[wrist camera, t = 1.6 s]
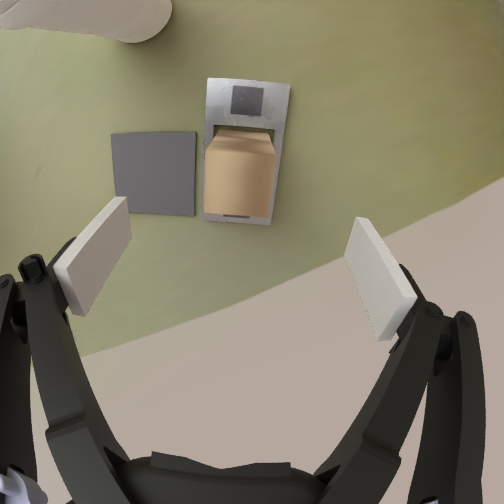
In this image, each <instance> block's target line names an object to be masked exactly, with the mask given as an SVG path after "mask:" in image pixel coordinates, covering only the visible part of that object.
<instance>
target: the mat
mask: <svg viewBox="0 0 504 504" xmlns="http://www.w3.org/2000/svg"><path fill="white" fill-rule="evenodd" d="M111 145H112V160H113V172H114V182H115V191H116V197H127V204H128V213H147V214H165V215H182V216H194V215H195V158H196V132H134V133H116V134H111Z"/></svg>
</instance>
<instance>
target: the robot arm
mask: <svg viewBox="0 0 504 504" xmlns="http://www.w3.org/2000/svg"><path fill="white" fill-rule="evenodd" d="M131 239H132V234H131V228H130V220H129V213H128V204H127V197H114V198H113V199H112V200H111V201H110V202H109V203H108V204H107V205H106V206H105V207H104V208H103V209H102V210H101V212H100V213H99V214H98V215H97V216H96V217H95V218H94V219H93V220H92V221H91V222H90V223H89V224H88V225H87V227H86V228H85V229H84V230H83V231H82V232H81V233H80V234H79V236H78V237H74V238H72V239H71V240H69V241H68V242H67V243H66V244H65V245H64V246H63V247H62V250H60V251H59V252H58V254H57V255H56V256H55V257H54V258H53V259H52V260H51V262H50V263H49V264H48V265H47V267H46V265H45V263H44V260H43V257H42V255H40V254H33V255H29V256H28V257H26V258H24V259H23V260H22V261H21V262H20V264H19V266H18V270H19V272H20V274H21V277H22V279H23V282H15V279H14V277H13V275H11V274H5V275H2V276H1V277H0V504H47V502H48V498H47V495H46V494H45V492H44V491H42V490H41V488H40V487H39V485H38V484H37V466H36V458H35V451H34V444H33V435H32V424H31V410H30V409H31V408H30V365H31V355H32V361H33V366H34V371H35V375H36V381H37V385H38V389H39V393H40V396H41V401H42V404H43V407H44V411H45V414H46V417H47V421H48V424H49V428H48V429H47V430H46V431H45V436H46V439H47V443H48V445H49V448H50V451H51V453H52V456H53V458H54V461H55V463H56V466H57V468H58V470H59V472H60V475H61V477H62V479H63V481H64V483H65V485H66V487H67V489H68V491H69V493H70V495H71V497H72V500H71V501H69V502H68V503H66V504H379V502H380V500H381V499H382V497H383V495H384V494H385V492H386V491H387V489H388V487H389V485H390V484H391V482H392V480H393V478H394V476H395V474H396V473H397V470H398V469H399V467H400V464H401V458H400V456H399V451H400V449H401V447H402V445H403V442H404V440H405V438H406V436H407V434H408V432H409V429H410V427H411V425H412V422H413V420H414V417H415V415H416V412H417V409H418V407H419V404H420V402H421V399H422V396H423V394H424V391H425V388H426V385H427V397H426V407H425V415H424V423H423V430H422V436H421V442H420V447H419V453H418V457H417V462H416V466H415V471H414V475H413V479H412V482H411V486H410V491H409V495H408V501H407V504H483V501H482V487H481V486H482V485H481V477H482V470H483V460H484V450H485V429H486V427H485V426H486V424H485V423H486V416H485V415H486V411H485V410H486V409H485V389H484V388H485V387H484V375H483V366H482V358H481V351H480V345H479V338H478V333H477V328H476V323H475V321H474V319H473V318H472V316H471V315H469V314H468V313H466V312H464V311H458V312H457V313H456V315H455V316H454V318H451V317H448V316H444V315H443V312H442V310H441V309H440V308H439V307H438V306H437V305H436V304H434V303H432V302H429V301H426V299H425V297H424V296H423V294H422V293H421V291H420V289H419V287H418V286H417V284H416V282H415V281H414V279H412V276H411V274H410V273H409V271H408V270H407V269H406V268H405V267H404V266H403V265H402V264H398V263H397V262H396V260H395V259H394V257H393V255H392V254H391V252H390V251H389V249H388V248H387V246H386V245H385V243H384V242H383V240H382V239H381V237H380V236H379V234H378V233H377V231H376V230H375V228H374V227H373V225H372V224H371V223H370V221H369V220H368V218H362V217H356V218H355V222H354V225H353V228H352V231H351V235H350V238H349V241H348V244H347V247H346V250H345V253H344V258H345V260H346V262H347V265H348V267H349V270H350V272H351V274H352V276H353V279H354V281H355V284H356V286H357V289H358V291H359V294H360V296H361V299H362V302H363V304H364V307H365V309H366V312H367V314H368V317H369V320H370V322H371V325H372V328H373V331H374V333H375V336H376V339H377V341H384V340H385V341H386V340H391V339H392V337H393V336H394V334H395V333H396V332H397V334H398V336H399V339H398V340H397V342H396V343H395V344H394V346H393V347H392V349H391V350H390V352H389V353H390V356H389V358H388V360H387V362H386V364H385V367H384V368H383V371H382V372H381V374H380V376H379V378H378V380H377V382H376V384H375V386H374V388H373V389H372V391H371V393H370V395H369V397H368V399H367V400H366V402H365V404H364V405H363V407H362V409H361V410H360V412H359V414H358V415H357V417H356V419H355V420H354V422H353V423H352V425H351V426H350V428H349V429H348V431H347V433H346V434H345V435H344V437H343V438H342V440H341V441H340V443H339V444H338V446H337V447H336V448H335V450H334V451H333V453H332V454H331V455H330V457H329V458H328V459H327V460H326V461H325V462H324V463H323V464H322V465H321V466H320V467H319V468H318V469H317V470H316V471H315V473H314V474H313V475H311V474H309V473H307V472H305V471H302V470H299V469H296V468H291V467H290V462H284V463H254V464H249V465H243V466H238V467H233V468H226V469H218V468H214V467H211V466H208V465H205V464H202V463H200V462H197V461H194V460H191V459H188V458H186V457H181V456H175V455H169V454H164V453H158V452H153V451H152V455H151V457H141V458H137V459H133V460H130V459H129V457H128V456H127V454H126V453H125V451H124V450H123V448H122V447H121V446H120V445H119V443H118V442H117V441H116V439H115V437H114V435H113V433H112V431H111V430H110V428H109V426H108V424H107V422H106V420H105V418H104V416H103V413H102V411H101V409H100V407H99V405H98V403H97V400H96V398H95V396H94V393H93V391H92V388H91V386H90V383H89V381H88V378H87V376H86V373H85V371H84V368H83V365H82V362H81V359H80V356H79V353H78V350H77V347H76V344H75V341H74V338H73V334H72V331H71V328H70V324H69V320H68V316H67V314H66V312H65V310H66V308H67V307H68V305H69V307H70V310H71V312H72V314H74V315H79V316H83V317H86V315H87V313H88V311H89V309H90V308H91V306H92V304H93V302H94V300H95V298H96V297H97V295H98V293H99V291H100V289H101V288H102V286H103V284H104V282H105V281H106V279H107V277H108V276H109V274H110V272H111V270H112V269H113V267H114V266H115V264H116V262H117V261H118V259H119V257H120V256H121V254H122V253H123V251H124V249H125V248H126V246H127V245H128V243H129V242H130V240H131ZM427 382H428V384H427Z"/></svg>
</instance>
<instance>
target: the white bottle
mask: <svg viewBox="0 0 504 504" xmlns="http://www.w3.org/2000/svg"><path fill="white" fill-rule="evenodd" d="M171 13H172V2H171V0H0V28H3V29H8V30H16V29H22V28H26V27H32V28H38V29H44V30H53V31H62V32H71V33H82V34H94V35H96V36H99V37H103V38H110V39H115V40H118V41H121V42H126V43H137V42H142V41H145V40H147V39H149V38H151V37H153V36H155V35H156V34H157V33H159V32H160V31H161V30H162V29H163V28H164V27H165V25H166V24H167V22H168V21H169V19H170V16H171Z"/></svg>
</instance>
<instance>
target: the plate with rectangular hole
mask: <svg viewBox="0 0 504 504" xmlns="http://www.w3.org/2000/svg"><path fill="white" fill-rule="evenodd" d="M289 92H290V85H288V84H281V83H273V82H264V81H254V80H242V79H226V78H208V82H207V94H206V108H205V124H204V144H203V169H202V214H201V220H208V221H221V222H234V223H247V224H259V225H270V226H271V219H272V213H273V206H274V199H275V192H276V186H277V179H278V172H279V165H280V158H281V151H282V144H283V137H284V129H285V122H286V115H287V107H288V100H289ZM215 125H231V126H245V127H256V128H266V129H274V135H273V143H272V145H273V148H274V150H275V153H276V156H277V157H276V164H275V171H274V178H273V186H272V193H271V200H270V207H269V214H268V218H264V217H252V216H240V215H228V214H214V213H204V184H205V157H206V149H207V148H208V146H209V145H210V143H211V142H212V140H213V139H214V128H215Z"/></svg>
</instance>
